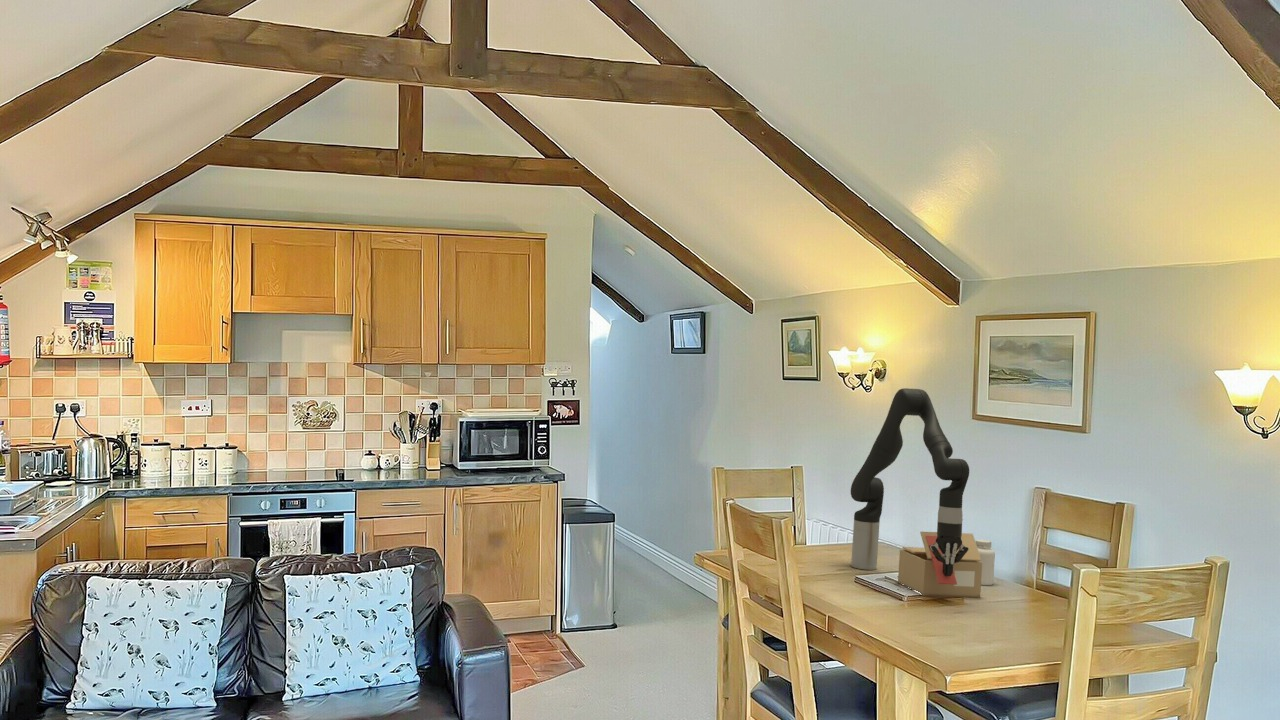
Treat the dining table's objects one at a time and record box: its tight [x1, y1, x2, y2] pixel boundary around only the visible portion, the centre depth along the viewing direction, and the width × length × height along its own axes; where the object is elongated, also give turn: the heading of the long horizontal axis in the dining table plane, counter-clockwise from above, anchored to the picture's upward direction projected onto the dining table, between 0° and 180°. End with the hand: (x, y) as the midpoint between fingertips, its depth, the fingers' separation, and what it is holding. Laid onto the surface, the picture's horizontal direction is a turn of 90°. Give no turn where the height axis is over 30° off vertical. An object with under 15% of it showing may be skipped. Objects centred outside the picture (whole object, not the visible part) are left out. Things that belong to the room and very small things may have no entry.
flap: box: [919, 531, 981, 585], centre depth 315 cm, size 19×18×1 cm
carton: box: [897, 546, 982, 599], centre depth 324 cm, size 19×20×12 cm
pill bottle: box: [975, 539, 996, 586], centre depth 342 cm, size 8×8×15 cm
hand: (947, 575), depth 309 cm, fingers closed
